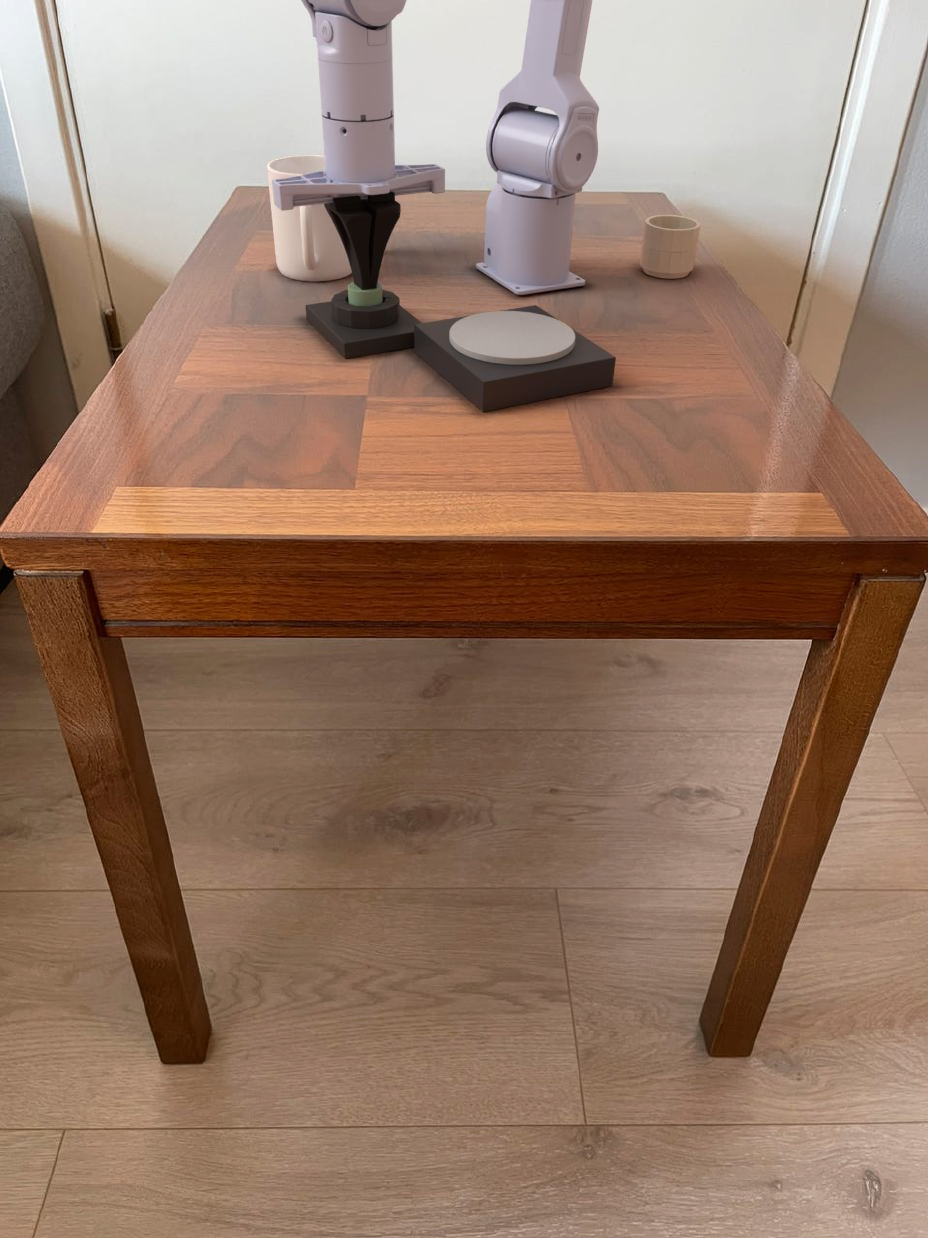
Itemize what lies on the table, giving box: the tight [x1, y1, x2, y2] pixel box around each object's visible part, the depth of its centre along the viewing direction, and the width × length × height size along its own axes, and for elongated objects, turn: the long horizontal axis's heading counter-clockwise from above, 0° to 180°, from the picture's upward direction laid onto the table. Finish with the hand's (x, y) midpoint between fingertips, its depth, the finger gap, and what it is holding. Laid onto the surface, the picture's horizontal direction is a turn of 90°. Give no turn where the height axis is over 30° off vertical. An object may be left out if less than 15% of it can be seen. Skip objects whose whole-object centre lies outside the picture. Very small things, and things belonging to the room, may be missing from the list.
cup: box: [266, 154, 352, 282], centre depth 97 cm, size 8×12×10 cm
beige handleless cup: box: [639, 214, 702, 280], centre depth 102 cm, size 6×6×5 cm
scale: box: [413, 304, 617, 413], centre depth 81 cm, size 13×12×3 cm
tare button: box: [347, 281, 383, 306], centre depth 86 cm, size 3×3×2 cm
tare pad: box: [305, 289, 422, 359], centre depth 87 cm, size 10×8×3 cm
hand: (365, 286), depth 86 cm, fingers closed, pressing on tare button
